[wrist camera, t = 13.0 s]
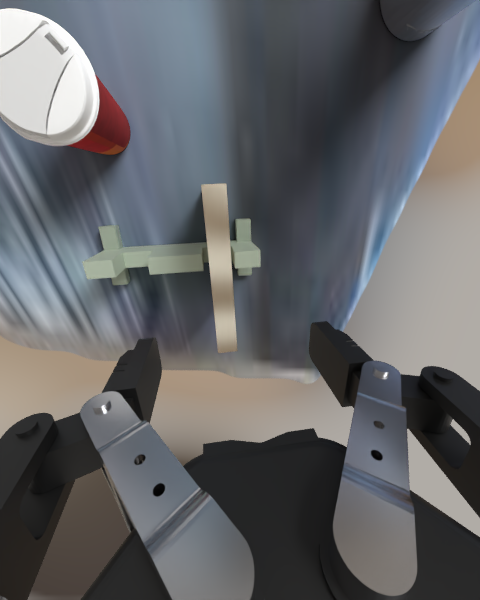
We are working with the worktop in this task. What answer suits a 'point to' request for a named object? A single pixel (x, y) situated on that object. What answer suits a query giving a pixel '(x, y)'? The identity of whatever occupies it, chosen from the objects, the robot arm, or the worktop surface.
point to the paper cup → (54, 88)
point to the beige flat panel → (220, 264)
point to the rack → (166, 255)
